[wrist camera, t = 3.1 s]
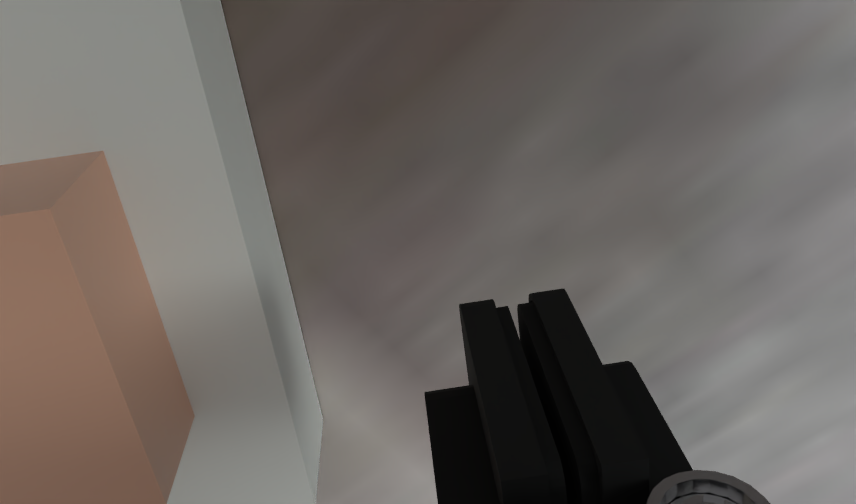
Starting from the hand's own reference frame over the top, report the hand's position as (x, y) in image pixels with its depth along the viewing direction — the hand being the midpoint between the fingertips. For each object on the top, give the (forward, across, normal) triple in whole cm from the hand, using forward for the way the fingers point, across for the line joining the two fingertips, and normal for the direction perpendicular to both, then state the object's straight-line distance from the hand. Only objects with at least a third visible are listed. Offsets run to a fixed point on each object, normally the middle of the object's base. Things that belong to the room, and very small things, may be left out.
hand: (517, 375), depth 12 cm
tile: (+3, +10, -1) cm, 10 cm away
